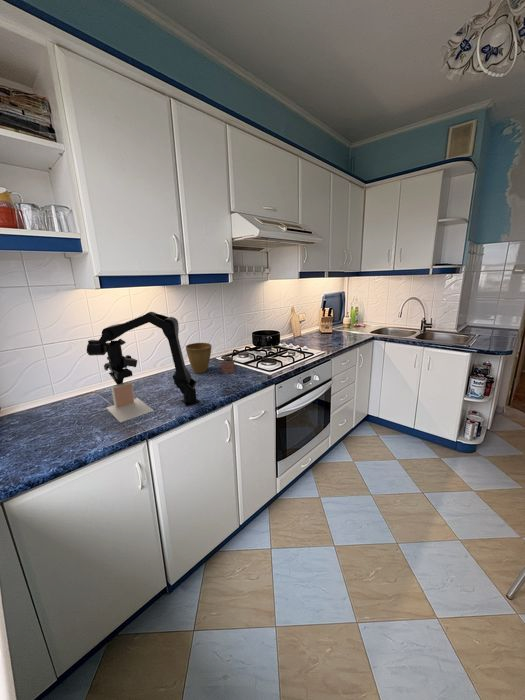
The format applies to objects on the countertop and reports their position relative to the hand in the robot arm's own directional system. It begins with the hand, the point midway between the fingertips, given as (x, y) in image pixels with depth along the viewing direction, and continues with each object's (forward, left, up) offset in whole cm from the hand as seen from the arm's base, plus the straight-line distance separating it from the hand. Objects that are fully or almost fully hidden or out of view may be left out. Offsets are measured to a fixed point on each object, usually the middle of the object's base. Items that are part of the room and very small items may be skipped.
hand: (120, 387), depth 131 cm
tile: (-2, 0, -8) cm, 8 cm away
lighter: (-2, -59, -9) cm, 60 cm away
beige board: (-8, 0, -8) cm, 12 cm away
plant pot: (+12, -49, -9) cm, 51 cm away
